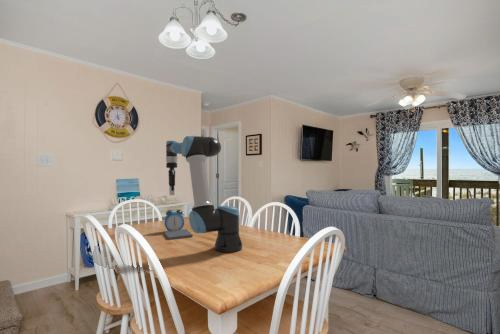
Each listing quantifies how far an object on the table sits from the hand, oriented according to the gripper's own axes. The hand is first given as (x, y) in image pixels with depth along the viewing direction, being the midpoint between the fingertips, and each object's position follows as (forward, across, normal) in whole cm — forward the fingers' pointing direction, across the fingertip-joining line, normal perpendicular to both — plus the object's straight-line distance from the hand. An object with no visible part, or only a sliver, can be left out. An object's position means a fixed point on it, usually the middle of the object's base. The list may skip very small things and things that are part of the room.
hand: (171, 194), depth 199 cm
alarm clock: (+25, -9, 0) cm, 26 cm away
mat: (+25, -21, 0) cm, 32 cm away
